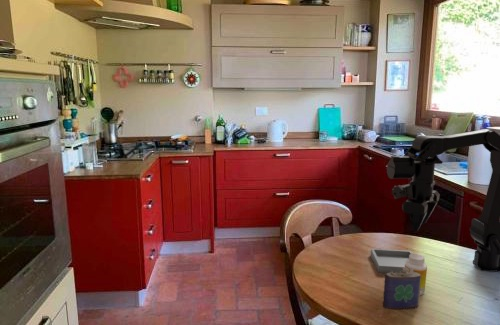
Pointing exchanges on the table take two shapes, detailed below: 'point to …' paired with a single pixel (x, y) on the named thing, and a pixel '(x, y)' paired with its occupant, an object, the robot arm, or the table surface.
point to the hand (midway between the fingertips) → (419, 227)
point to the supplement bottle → (417, 269)
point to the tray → (389, 260)
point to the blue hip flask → (401, 290)
